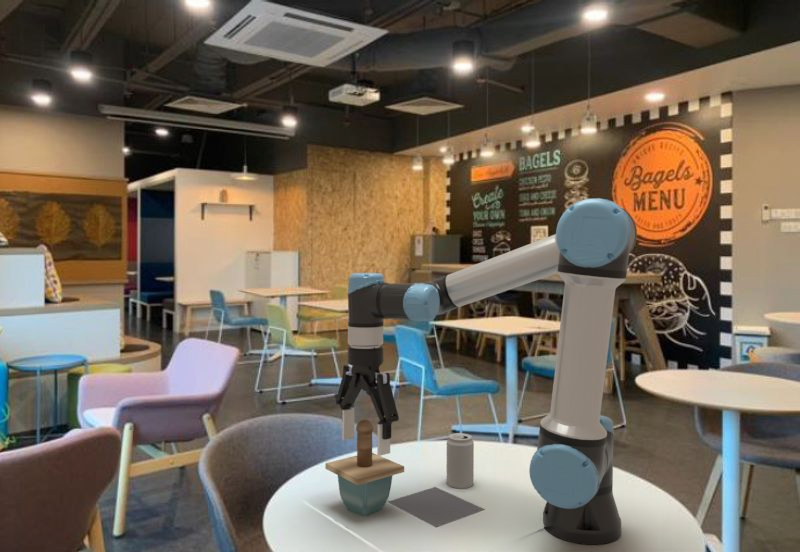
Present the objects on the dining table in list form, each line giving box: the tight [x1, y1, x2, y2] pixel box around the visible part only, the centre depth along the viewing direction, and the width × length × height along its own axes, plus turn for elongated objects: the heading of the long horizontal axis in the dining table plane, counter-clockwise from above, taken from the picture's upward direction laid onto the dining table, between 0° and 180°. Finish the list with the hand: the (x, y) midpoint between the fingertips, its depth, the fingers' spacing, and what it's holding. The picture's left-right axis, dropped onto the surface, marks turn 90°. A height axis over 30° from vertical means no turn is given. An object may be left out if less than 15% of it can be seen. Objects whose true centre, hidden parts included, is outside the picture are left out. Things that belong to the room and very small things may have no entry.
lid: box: [325, 419, 405, 485], centre depth 129 cm, size 12×12×11 cm
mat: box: [387, 486, 486, 528], centre depth 132 cm, size 16×14×1 cm
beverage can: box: [446, 432, 475, 490], centre depth 144 cm, size 6×6×12 cm
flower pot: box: [337, 475, 394, 517], centre depth 130 cm, size 9×9×9 cm
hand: (365, 446), depth 129 cm, fingers open, 12 cm apart
